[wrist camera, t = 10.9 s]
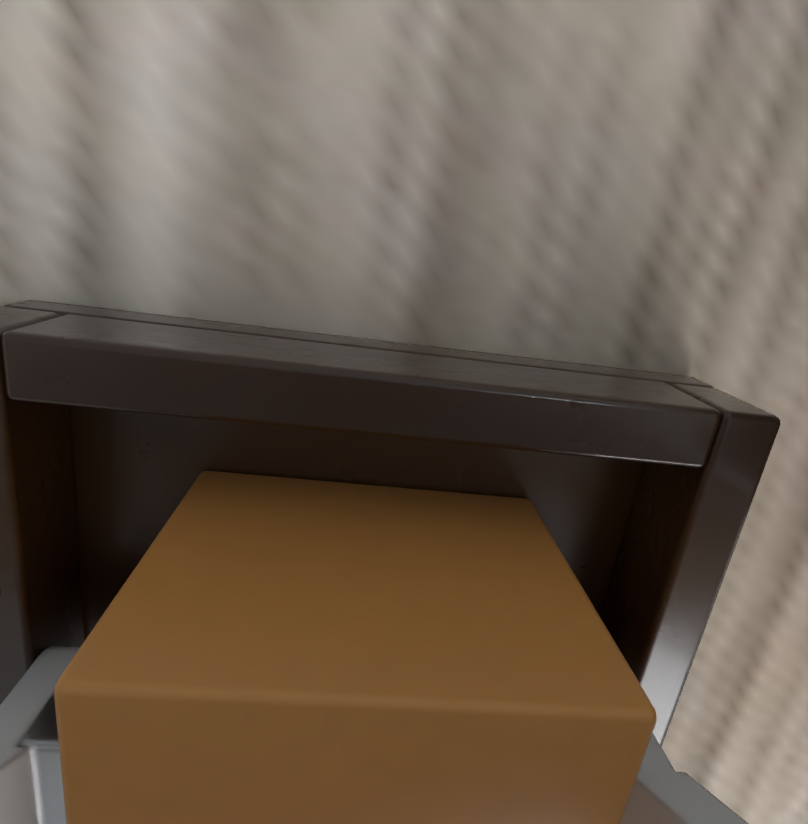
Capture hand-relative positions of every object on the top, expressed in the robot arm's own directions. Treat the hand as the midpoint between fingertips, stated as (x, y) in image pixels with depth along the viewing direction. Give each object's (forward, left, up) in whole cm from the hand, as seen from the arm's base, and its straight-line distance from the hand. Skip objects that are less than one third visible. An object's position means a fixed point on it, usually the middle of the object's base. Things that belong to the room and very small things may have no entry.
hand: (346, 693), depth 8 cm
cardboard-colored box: (0, 0, -1) cm, 1 cm away
